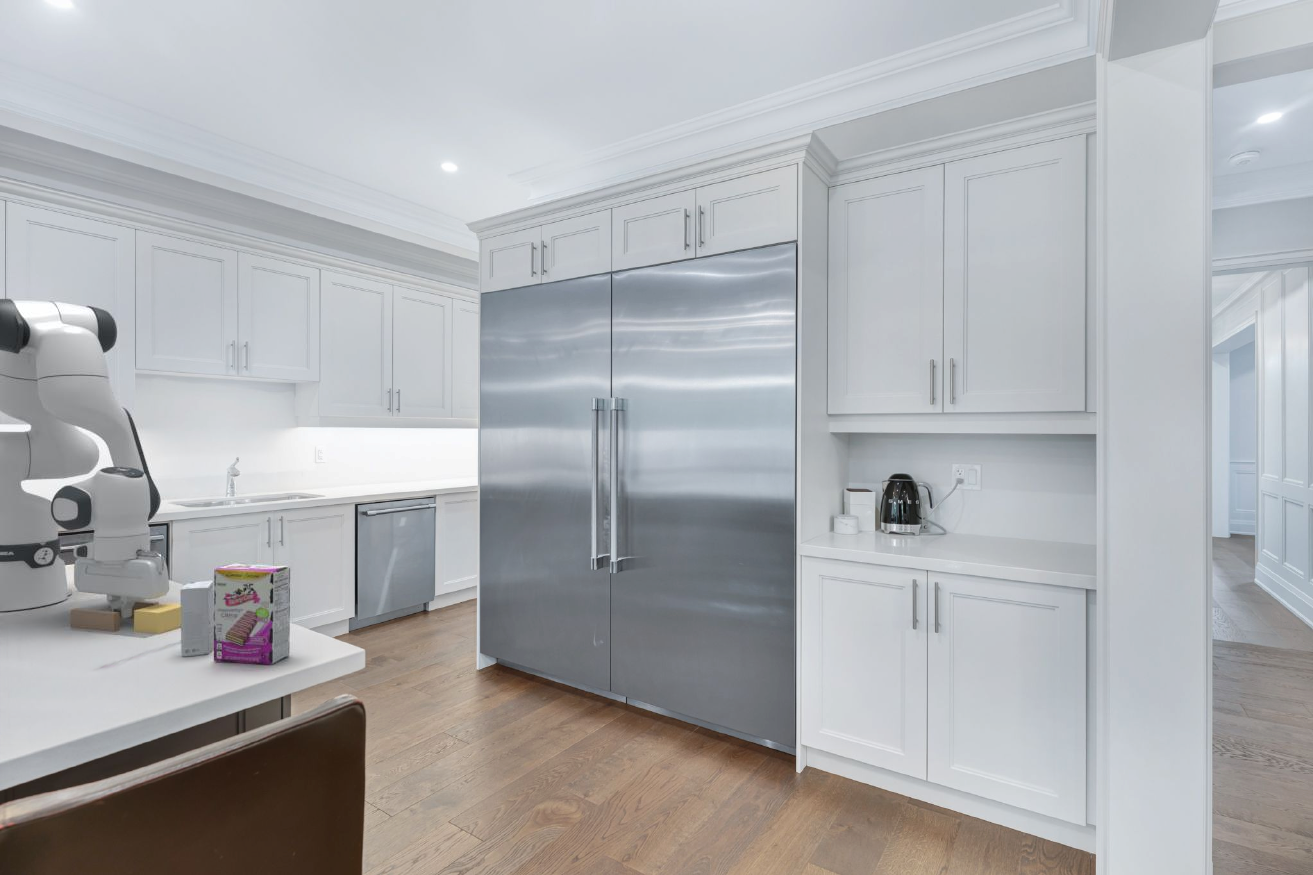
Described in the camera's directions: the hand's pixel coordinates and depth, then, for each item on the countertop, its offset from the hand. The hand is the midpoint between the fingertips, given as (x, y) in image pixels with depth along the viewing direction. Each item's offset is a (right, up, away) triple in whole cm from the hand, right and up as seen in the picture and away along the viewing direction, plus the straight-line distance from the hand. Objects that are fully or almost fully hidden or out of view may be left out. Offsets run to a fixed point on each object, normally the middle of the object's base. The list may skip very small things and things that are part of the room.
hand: (121, 616), depth 131 cm
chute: (+3, -2, -1) cm, 4 cm away
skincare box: (+24, -3, -12) cm, 27 cm away
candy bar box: (+36, -3, -16) cm, 40 cm away
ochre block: (+10, -1, -3) cm, 10 cm away
